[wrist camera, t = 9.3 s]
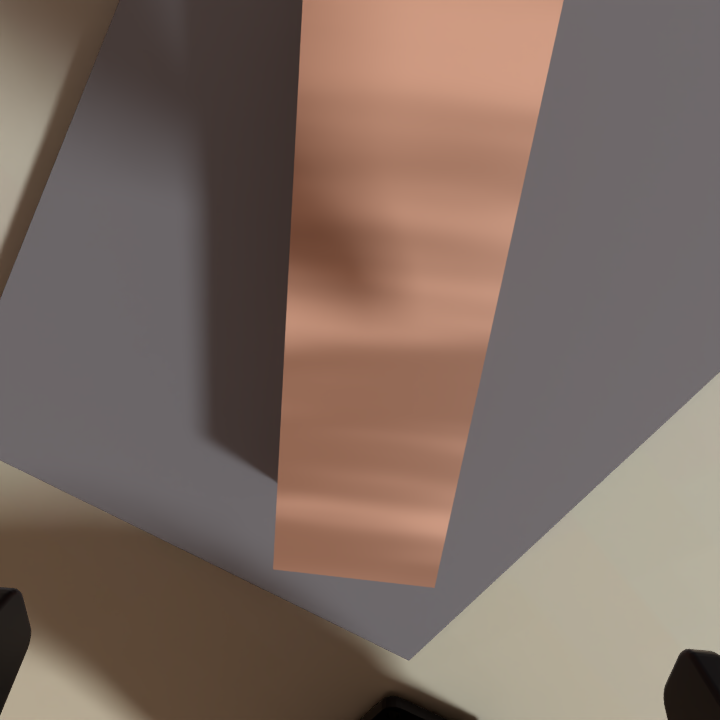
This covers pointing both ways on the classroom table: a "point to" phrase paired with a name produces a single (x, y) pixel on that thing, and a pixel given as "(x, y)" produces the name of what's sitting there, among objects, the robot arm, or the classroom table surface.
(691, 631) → the classroom table surface
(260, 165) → the charcoal mat
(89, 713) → the classroom table surface
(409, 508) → the terracotta block
